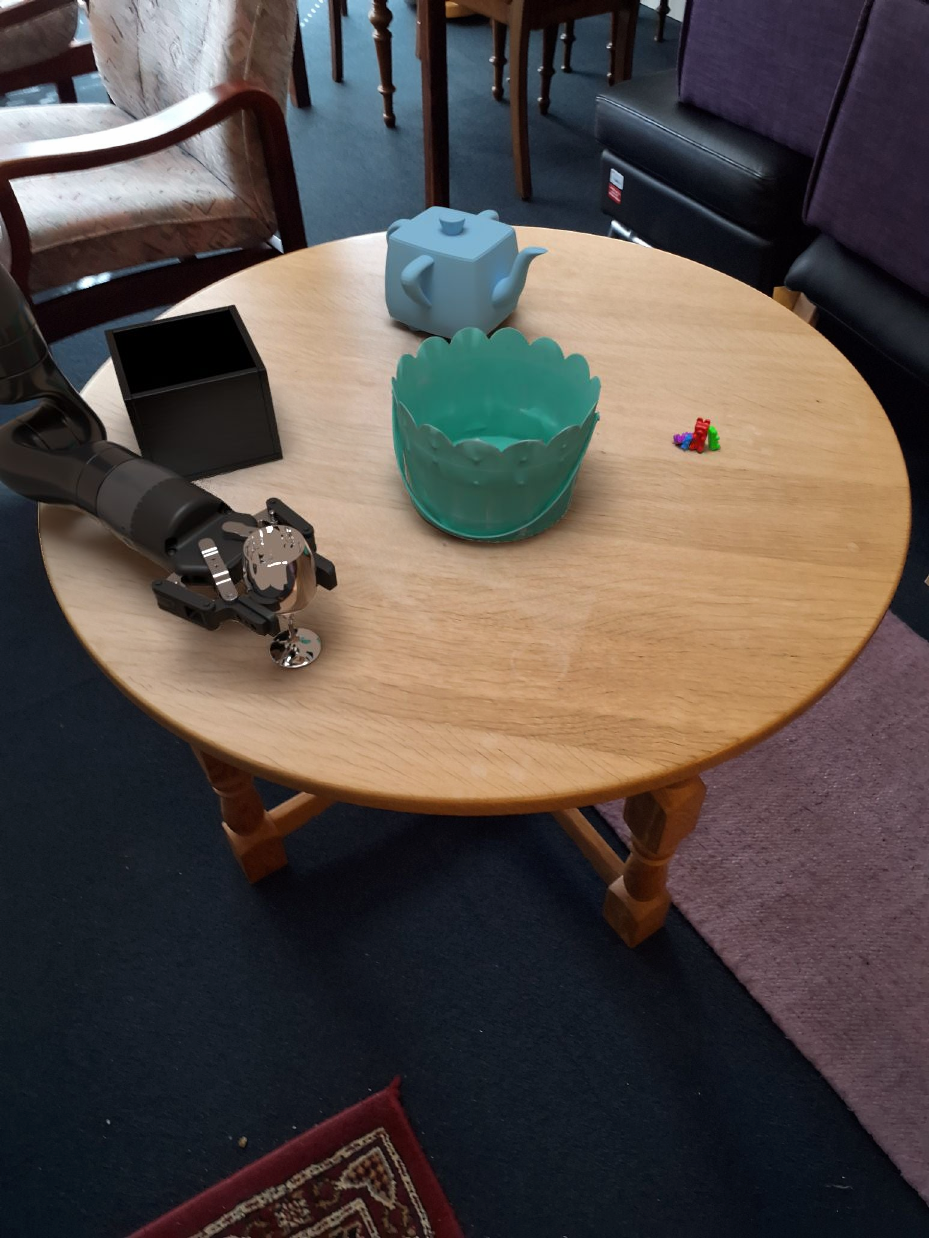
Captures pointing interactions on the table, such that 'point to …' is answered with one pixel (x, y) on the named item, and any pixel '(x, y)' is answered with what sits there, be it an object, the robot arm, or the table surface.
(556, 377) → the basket
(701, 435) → the gummy bear
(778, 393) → the table surface
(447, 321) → the teapot
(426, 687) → the table surface
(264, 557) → the wineglass
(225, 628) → the table surface
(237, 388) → the waste bin
